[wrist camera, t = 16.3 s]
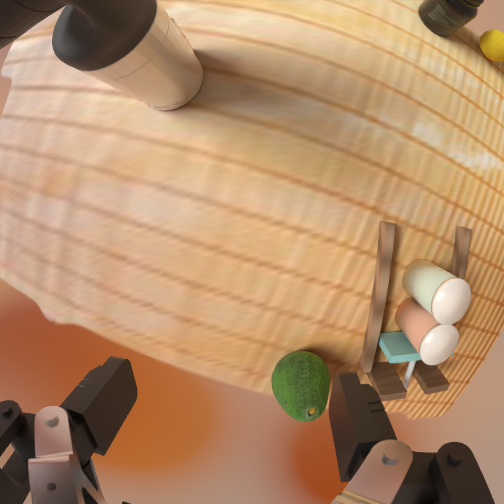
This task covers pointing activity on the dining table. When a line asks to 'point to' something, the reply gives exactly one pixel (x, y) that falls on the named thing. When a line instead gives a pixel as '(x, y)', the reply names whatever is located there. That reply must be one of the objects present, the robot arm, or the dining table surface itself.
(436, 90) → the dining table surface
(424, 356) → the jar
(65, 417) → the robot arm
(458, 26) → the supplement bottle
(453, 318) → the sage jar
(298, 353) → the fruit
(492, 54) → the lemon
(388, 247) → the lane
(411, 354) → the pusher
